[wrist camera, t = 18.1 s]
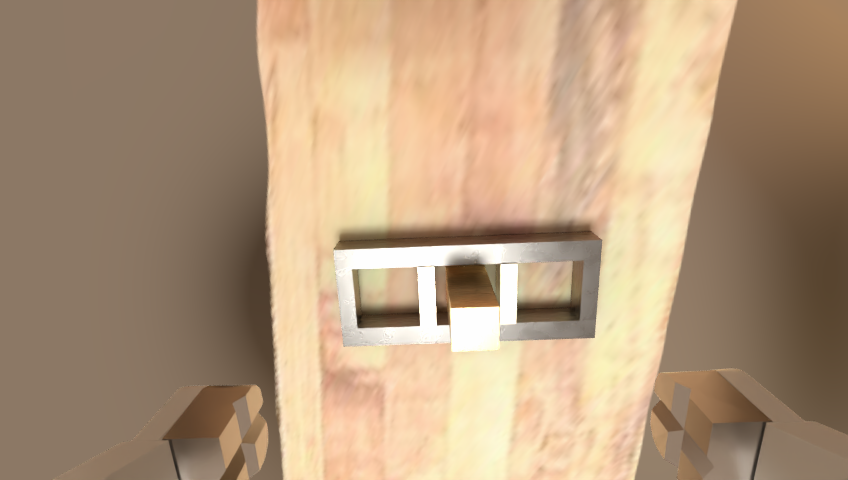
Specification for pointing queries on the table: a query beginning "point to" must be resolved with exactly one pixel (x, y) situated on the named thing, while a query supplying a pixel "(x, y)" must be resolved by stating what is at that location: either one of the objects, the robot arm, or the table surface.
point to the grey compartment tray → (469, 252)
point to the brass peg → (471, 309)
